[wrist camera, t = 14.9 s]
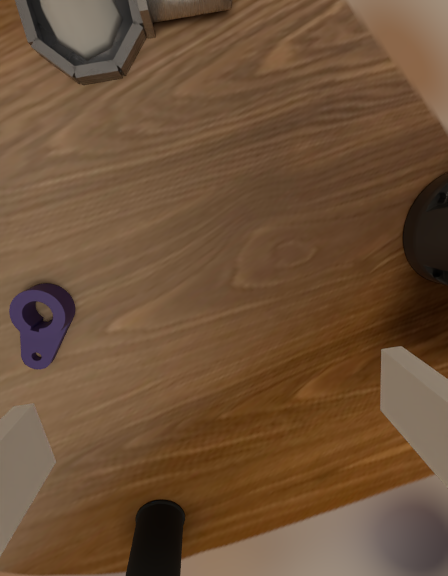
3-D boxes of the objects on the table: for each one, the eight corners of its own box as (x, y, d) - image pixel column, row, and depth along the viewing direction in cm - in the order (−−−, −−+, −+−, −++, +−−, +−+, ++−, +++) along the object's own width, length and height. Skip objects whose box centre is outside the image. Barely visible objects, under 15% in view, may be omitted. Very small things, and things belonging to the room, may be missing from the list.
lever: (29, 276, 36) (13, 283, 33) (80, 291, 37) (69, 298, 34) (14, 358, 39) (-1, 370, 36) (62, 369, 40) (51, 382, 37)
